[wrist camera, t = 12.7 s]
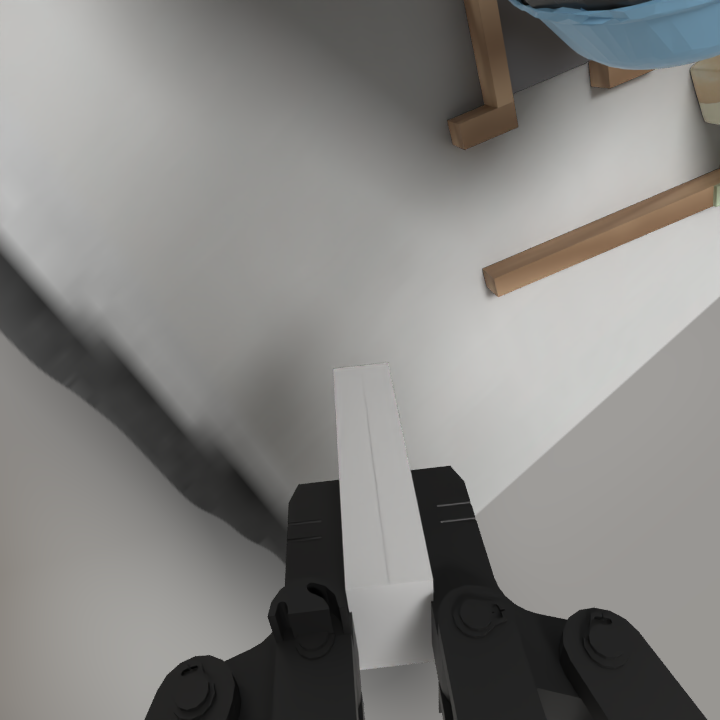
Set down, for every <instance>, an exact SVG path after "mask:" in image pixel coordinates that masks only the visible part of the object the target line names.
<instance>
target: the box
mask: <svg viewBox="0 0 720 720" xmlns="http://www.w3.org/2000/svg"><path fill="white" fill-rule="evenodd" d="M690 71H691V76H692V79H693V83H694V87H695V91H696V94H697V98H698V101H699V105H700V108H701V111H702V115H703V118H704V121H705V122H706V123H711V124H718V125H720V55H718V56H715V57H712V58H709V59H705V60H701V61H698V62H697V63H696V64H695V65H693V66H692V67H691V69H690Z"/></svg>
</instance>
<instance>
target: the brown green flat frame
mask: <svg viewBox="0 0 720 720" xmlns="http://www.w3.org/2000/svg"><path fill="white" fill-rule="evenodd" d="M464 5H465V10H466V15H467V20H468V25H469V30H470V35H471V40H472V45H473V50H474V55H475V60H476V65H477V70H478V75H479V80H480V85H481V90H482V95H483V100H484V105H483V106H481V107H478V108H476V109H473V110H471V111H469V112H466V113H464V114H462V115H459V116H457V117H454V118H452V119H450V120H447V122H448V126H449V131H450V135H451V139H452V143H453V145H455V146H457V147H459V148H462V149H464V150H465V149H468V148H470V147H472V146H475V145H477V144H480V143H482V142H484V141H487V140H489V139H491V138H494V137H496V136H499V135H501V134H503V133H506V132H508V131H510V130H513V129H515V128H517V127H518V122H517V116H516V110H515V104H514V99H513V93H516V92H518V91H520V90H523V89H525V88H528V87H530V86H532V85H535V84H537V83H539V82H542V81H544V80H547V79H549V78H551V77H554V76H556V75H558V74H561V73H563V72H566V71H568V70H570V69H573V68H575V67H577V66H580V65H582V64H585V63H587V62H589V72H590V82H591V87H601V88H612V87H615V86H617V85H619V84H622V83H624V82H626V81H629V80H631V79H634V78H636V77H638V76H641V75H643V74H645V73H648V72H650V71H653V70H655V69H650V70H629V69H620V68H614V67H609V66H607V65H604V64H601V63H598V62H596V61H593V60H589V59H587V58H585V57H583V56H581V55H580V54H578V53H577V52H575V51H574V50H573V49H571V48H570V47H569V46H568V45H567V44H566V43H565V42H564V41H563V40H562V39H561V38H560V37H559V36H557V35H556V34H555V33H554V32H553V31H552V30H551V29H550V28H549V27H548V26H547V25H546V24H545V23H543V22H542V21H541V20H540V19H539V18H535V17H533V16H532V15H530V14H529V13H527V12H526V11H522V10H520V9H519V8H517V7H516V6H514V5H513V4H512V3H511V2H510V1H509V0H464ZM712 206H715V207H718V206H720V168H719V169H717V170H714V171H712V172H710V173H707V174H705V175H702V176H700V177H698V178H695V179H693V180H691V181H688V182H686V183H684V184H681V185H679V186H677V187H674V188H672V189H669V190H667V191H665V192H662V193H660V194H658V195H655V196H653V197H651V198H648V199H646V200H643V201H641V202H639V203H636V204H634V205H632V206H629V207H627V208H625V209H622V210H620V211H618V212H615V213H613V214H610V215H608V216H606V217H603V218H601V219H599V220H596V221H594V222H592V223H589V224H587V225H584V226H582V227H580V228H577V229H575V230H573V231H570V232H568V233H566V234H563V235H561V236H559V237H556V238H554V239H551V240H549V241H547V242H544V243H542V244H540V245H537V246H535V247H533V248H530V249H528V250H525V251H523V252H521V253H518V254H516V255H514V256H511V257H509V258H507V259H504V260H502V261H499V262H497V263H495V264H492V265H490V266H488V267H485V268H483V274H484V278H485V282H486V286H487V287H488V288H489V289H490V290H491V291H492V292H493V293H494V294H495V295H496V296H498V297H500V296H502V295H504V294H507V293H509V292H512V291H514V290H516V289H519V288H521V287H523V286H526V285H528V284H530V283H533V282H535V281H537V280H540V279H542V278H545V277H547V276H549V275H552V274H554V273H556V272H559V271H561V270H563V269H566V268H568V267H570V266H573V265H575V264H578V263H580V262H582V261H585V260H587V259H589V258H592V257H594V256H596V255H599V254H601V253H603V252H606V251H608V250H611V249H613V248H615V247H618V246H620V245H622V244H625V243H627V242H629V241H632V240H634V239H636V238H639V237H641V236H644V235H646V234H648V233H651V232H653V231H655V230H658V229H660V228H662V227H665V226H667V225H669V224H672V223H674V222H677V221H679V220H681V219H684V218H686V217H688V216H691V215H693V214H695V213H698V212H700V211H703V210H705V209H707V208H710V207H712Z"/></svg>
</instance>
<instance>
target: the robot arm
mask: <svg viewBox="0 0 720 720" xmlns="http://www.w3.org/2000/svg"><path fill="white" fill-rule="evenodd" d="M509 1H510V2H511V3H512V4H513V5H514V6H516V7H517V8H519V9H520V10H522V11H526V12H527V13H529V14H530V15H532V16H533V17H535V18H539V19H540V20H541V21H542V22H543V23H545V24H546V25H547V26H548V27H549V28H550V29H551V30H552V31H553V32H554V33H555V34H556V35H557V36H559V37H560V38H561V39H562V40H563V41H564V42H565V43H566V44H567V45H568V46H569V47H570V48H571V49H573V50H574V51H575V52H577V53H578V54H580V55H581V56H583V57H585V58H587V59H589V60H593V61H596V62H598V63H601V64H604V65H607V66H609V67H614V68H620V69H629V70H650V69H661V68H669V67H675V66H681V65H685V64H690V63H694V62H698V61H701V60H705V59H709V58H712V57H715V56H718V55H720V0H509ZM333 375H334V393H335V411H336V429H337V447H338V465H339V480H334V481H325V482H316V483H307V484H299V485H298V487H297V488H296V490H295V492H294V494H293V496H292V498H291V500H290V502H289V510H288V531H287V553H286V574H285V587H283V588H282V589H281V590H280V591H279V592H278V594H277V595H276V597H275V598H274V599H273V601H272V602H271V606H270V610H269V613H268V619H269V622H270V626H271V629H272V633H271V634H270V635H269V636H268V637H267V638H266V639H265V640H264V641H263V642H262V643H261V644H259V645H257V646H255V647H253V648H252V649H250V650H248V651H246V652H244V653H242V654H239V655H237V656H235V657H233V658H231V659H229V660H226V661H223V660H221V659H218V658H216V657H213V656H210V655H207V656H195V657H193V658H191V659H189V660H186V661H184V662H182V663H180V664H179V665H178V666H177V667H176V668H175V669H173V670H172V671H171V672H170V673H169V674H168V675H167V676H166V678H165V679H164V681H163V683H162V684H161V686H160V687H159V689H158V690H157V693H156V695H155V697H154V699H153V702H152V704H151V706H150V708H149V711H148V713H147V715H146V718H145V720H365V717H364V703H363V698H362V692H361V680H360V670H364V669H373V668H381V667H389V666H398V665H407V664H415V663H423V662H431V661H434V658H435V664H436V669H437V674H438V680H439V713H442V715H443V720H707V719H706V718H705V716H704V715H703V714H702V712H701V711H700V710H699V709H698V707H697V706H696V705H695V703H694V702H693V701H692V699H691V698H690V697H689V696H688V694H687V693H686V692H685V691H684V689H683V688H682V687H681V686H680V684H679V683H678V681H677V680H676V679H675V678H674V676H673V675H672V674H671V673H670V671H669V670H668V669H667V668H666V666H665V665H664V664H663V662H662V661H661V660H660V658H659V657H658V656H657V655H656V653H655V652H654V651H653V649H652V648H651V647H650V646H649V645H648V643H647V642H646V641H645V639H644V638H643V637H642V635H641V634H640V633H639V632H638V631H637V630H636V629H635V628H634V627H633V626H632V625H631V624H630V623H629V622H628V621H627V620H626V619H624V618H622V617H621V616H619V615H617V614H615V613H613V612H611V611H608V610H603V609H598V608H590V609H583V610H579V611H578V612H576V613H575V614H573V615H572V616H570V617H569V618H568V620H565V619H561V618H556V617H551V616H546V615H541V614H537V613H533V612H530V611H527V610H525V609H523V608H521V607H519V606H517V605H516V604H514V603H513V602H512V601H510V600H509V599H508V598H507V597H506V596H505V595H504V594H503V592H502V591H501V590H500V589H499V587H498V585H497V583H496V581H495V579H494V576H493V572H492V569H491V566H490V563H489V560H488V557H487V553H486V550H485V547H484V544H483V540H482V537H481V534H480V531H479V528H478V524H477V521H476V520H475V515H474V511H473V508H472V505H471V504H470V499H469V495H468V492H467V489H466V486H465V483H464V481H463V480H462V479H461V477H460V476H459V475H458V474H457V473H456V472H455V471H454V470H453V469H452V467H451V466H444V467H436V468H427V469H418V470H410V465H409V461H408V456H407V451H406V446H405V441H404V436H403V431H402V427H401V422H400V417H399V412H398V407H397V402H396V398H395V393H394V388H393V383H392V378H391V373H390V369H389V364H388V362H387V363H378V364H369V365H360V366H351V367H342V368H334V369H333Z"/></svg>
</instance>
